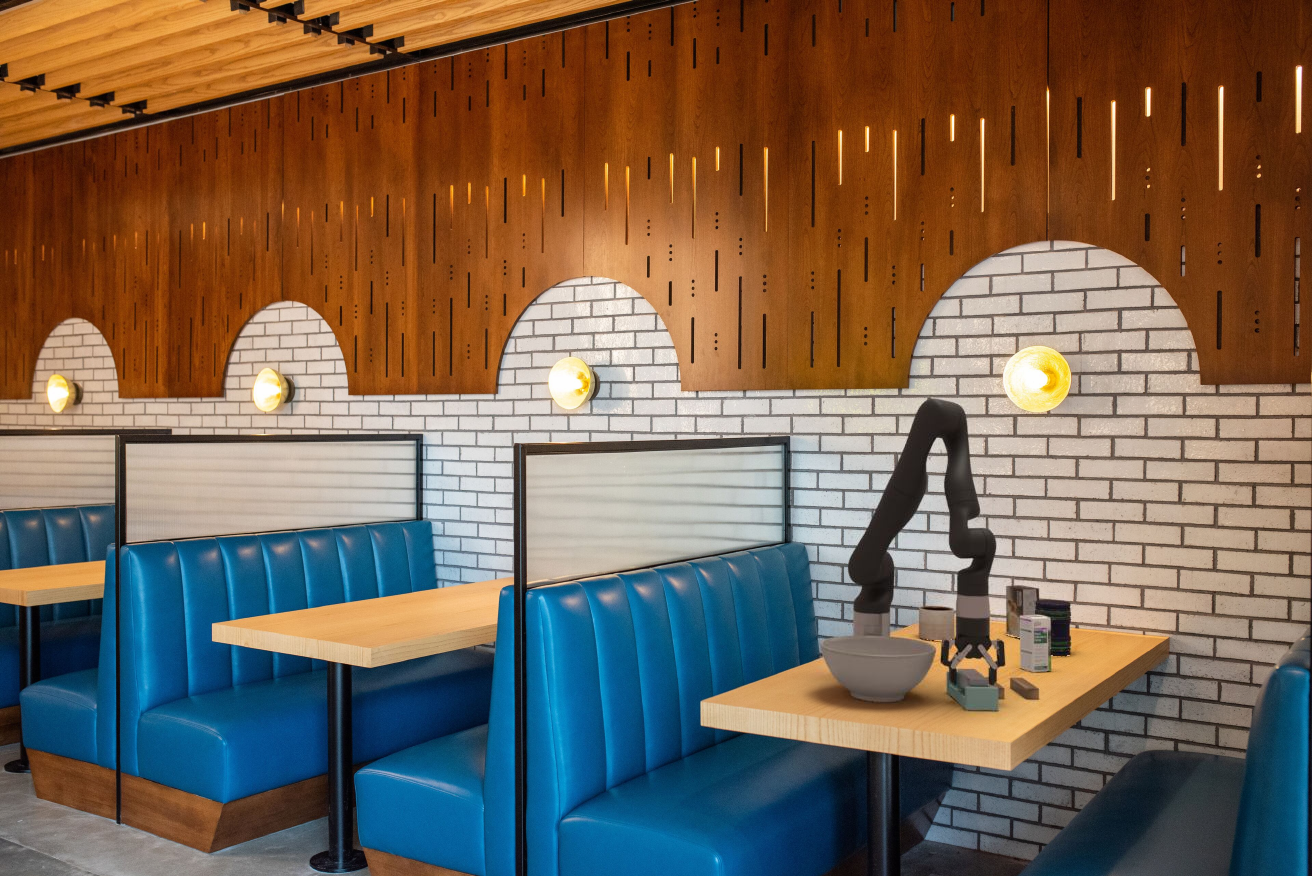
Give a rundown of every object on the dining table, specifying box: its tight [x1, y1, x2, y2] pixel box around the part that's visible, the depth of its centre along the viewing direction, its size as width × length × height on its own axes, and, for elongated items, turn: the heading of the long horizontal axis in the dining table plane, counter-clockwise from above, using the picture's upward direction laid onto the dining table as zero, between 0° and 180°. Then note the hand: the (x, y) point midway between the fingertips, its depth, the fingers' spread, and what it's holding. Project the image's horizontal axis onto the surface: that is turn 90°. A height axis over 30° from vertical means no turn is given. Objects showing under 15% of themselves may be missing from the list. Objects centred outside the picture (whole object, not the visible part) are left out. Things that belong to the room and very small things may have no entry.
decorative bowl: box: [819, 635, 937, 703], centre depth 244 cm, size 27×27×12 cm
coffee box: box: [1005, 584, 1040, 637], centre depth 326 cm, size 9×6×16 cm
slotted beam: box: [984, 676, 1040, 700], centre depth 248 cm, size 11×12×2 cm
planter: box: [918, 605, 956, 640], centre depth 323 cm, size 11×11×10 cm
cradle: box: [946, 671, 999, 712], centre depth 239 cm, size 7×18×5 cm, turn 178°
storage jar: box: [1035, 599, 1072, 656], centre depth 299 cm, size 10×10×15 cm
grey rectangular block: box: [956, 668, 988, 696], centre depth 238 cm, size 4×12×5 cm, turn 177°
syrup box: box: [1019, 615, 1052, 673], centre depth 275 cm, size 6×6×14 cm
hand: (972, 684), depth 238 cm, fingers open, 8 cm apart
